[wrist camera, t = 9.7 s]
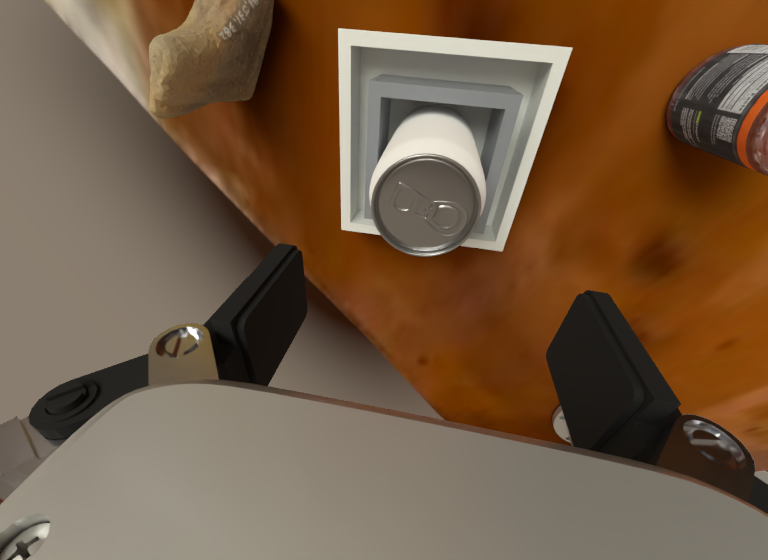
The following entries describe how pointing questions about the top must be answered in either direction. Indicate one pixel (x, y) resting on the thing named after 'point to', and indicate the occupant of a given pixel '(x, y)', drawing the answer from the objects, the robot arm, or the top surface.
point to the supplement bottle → (726, 106)
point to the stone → (209, 56)
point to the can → (428, 184)
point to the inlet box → (453, 90)
